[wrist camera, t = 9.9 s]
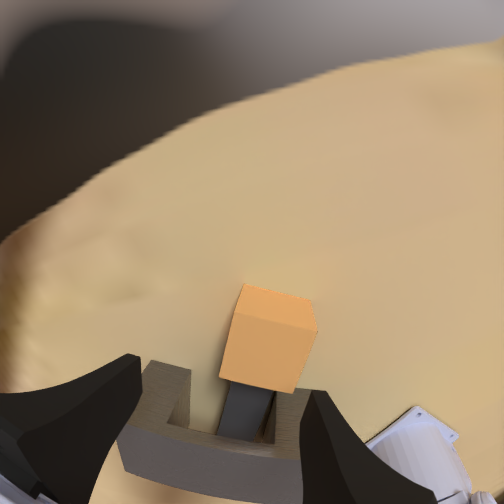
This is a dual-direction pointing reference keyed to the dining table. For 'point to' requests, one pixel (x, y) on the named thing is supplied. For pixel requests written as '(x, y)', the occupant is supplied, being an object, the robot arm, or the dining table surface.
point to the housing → (212, 445)
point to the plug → (263, 355)
